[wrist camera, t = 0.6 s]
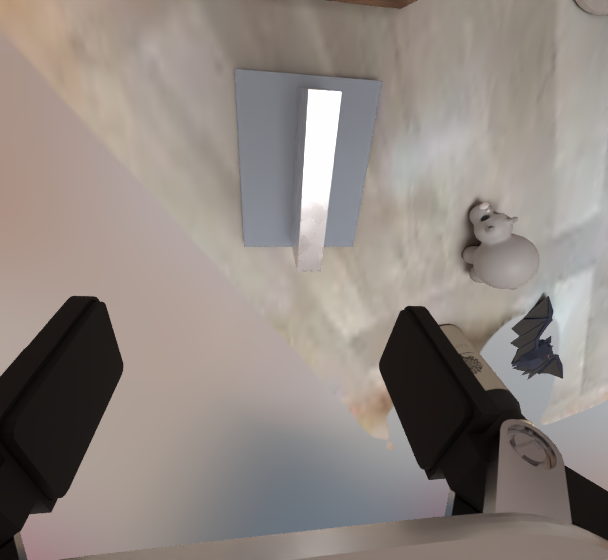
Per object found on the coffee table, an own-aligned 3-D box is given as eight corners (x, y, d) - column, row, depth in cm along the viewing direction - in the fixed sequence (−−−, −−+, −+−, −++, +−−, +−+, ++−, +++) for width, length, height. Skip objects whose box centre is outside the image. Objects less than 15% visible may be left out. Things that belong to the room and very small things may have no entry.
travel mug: (454, 351, 56) (523, 448, 42) (414, 357, 56) (470, 457, 41) (465, 321, 52) (548, 417, 37) (422, 326, 51) (488, 426, 37)
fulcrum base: (377, 80, 30) (382, 80, 29) (350, 241, 40) (353, 246, 39) (235, 69, 28) (234, 68, 27) (244, 241, 38) (244, 246, 37)
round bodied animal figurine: (491, 191, 41) (536, 187, 33) (513, 267, 44) (561, 281, 36) (441, 213, 42) (474, 214, 34) (466, 287, 45) (502, 305, 36)
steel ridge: (323, 88, 28) (341, 91, 22) (310, 239, 37) (320, 271, 31) (297, 86, 28) (308, 89, 22) (290, 239, 37) (297, 271, 31)
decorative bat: (505, 333, 49) (562, 300, 48) (488, 318, 53) (540, 286, 51) (530, 407, 65) (574, 384, 63) (515, 392, 68) (556, 370, 67)
